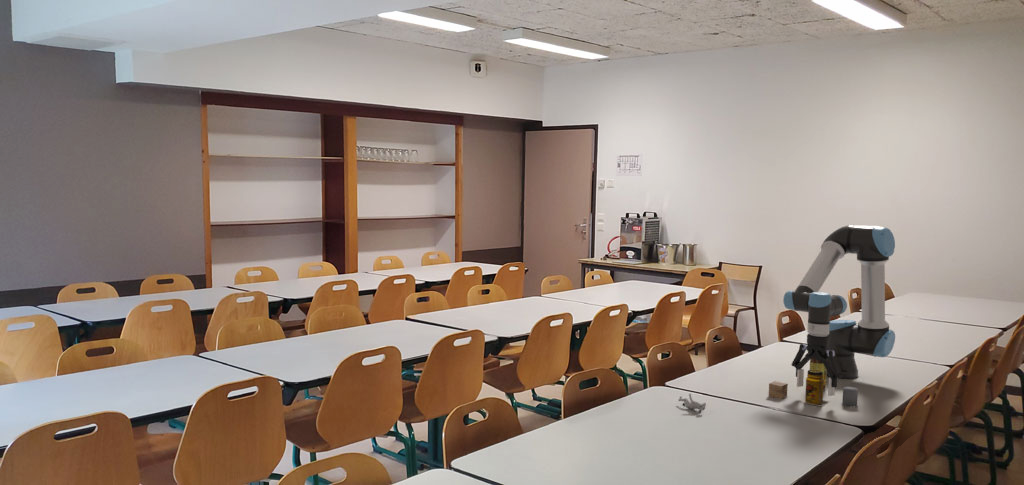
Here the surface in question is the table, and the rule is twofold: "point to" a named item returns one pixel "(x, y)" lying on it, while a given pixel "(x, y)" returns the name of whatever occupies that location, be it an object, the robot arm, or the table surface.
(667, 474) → the table surface
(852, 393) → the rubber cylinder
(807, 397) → the condiment
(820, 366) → the sauce bottle
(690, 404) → the soldier figure
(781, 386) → the walnut block
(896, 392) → the table surface
